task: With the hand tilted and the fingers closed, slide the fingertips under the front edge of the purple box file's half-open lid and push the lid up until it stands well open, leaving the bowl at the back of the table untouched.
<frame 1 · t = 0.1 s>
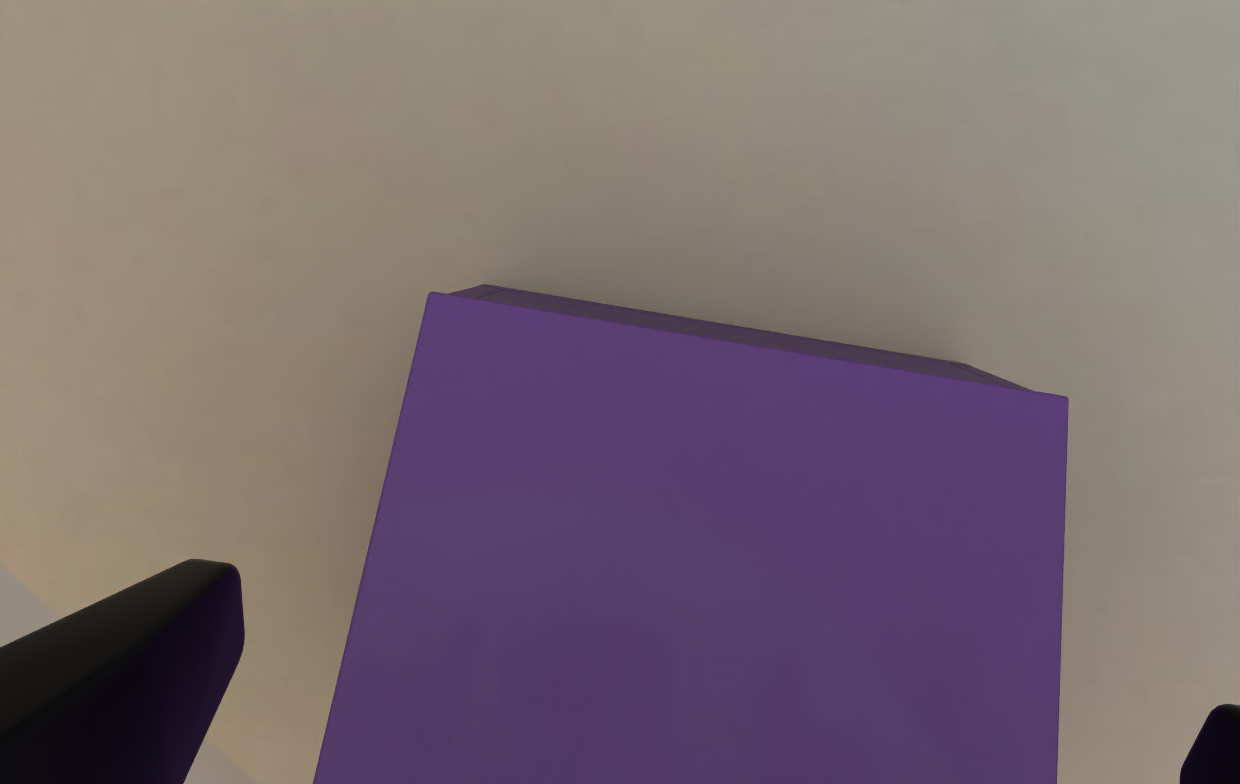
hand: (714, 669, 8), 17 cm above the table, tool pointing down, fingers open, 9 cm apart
box file: (688, 521, 25), on the table
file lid: (705, 645, 17), point 8 cm above the table, hinge at 25.0°
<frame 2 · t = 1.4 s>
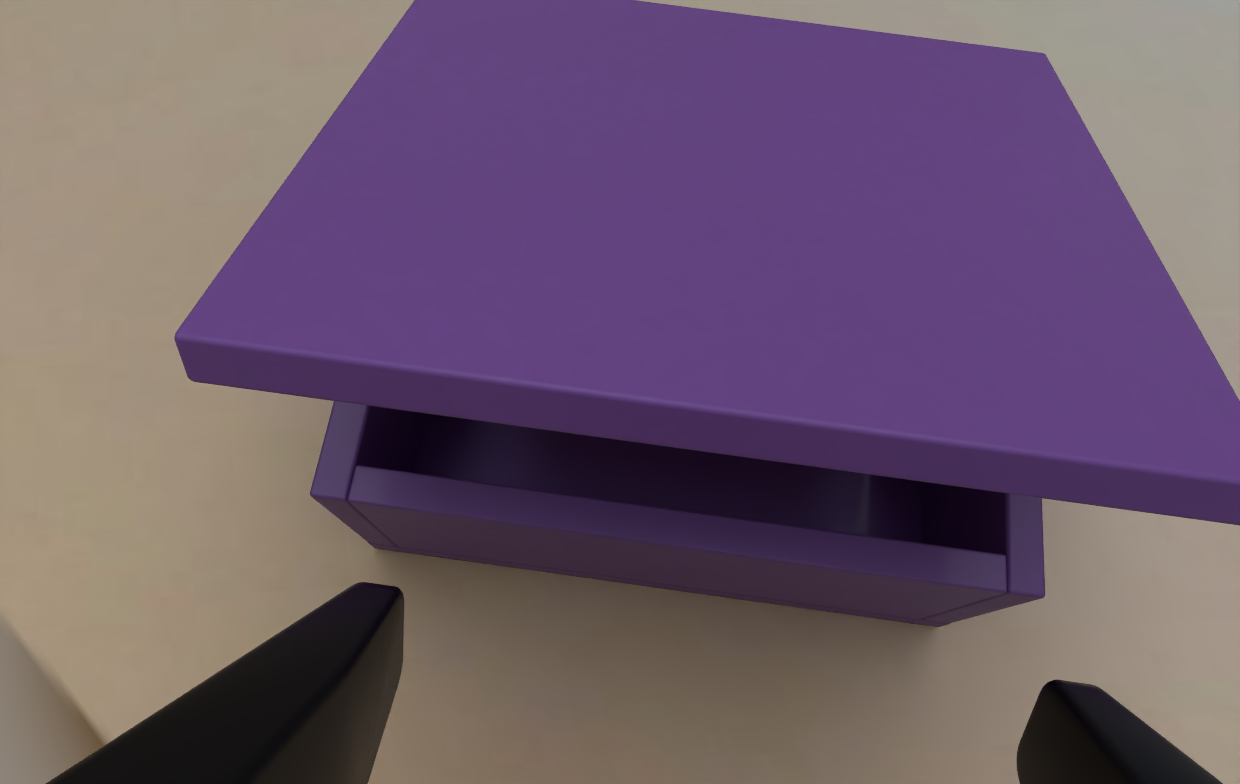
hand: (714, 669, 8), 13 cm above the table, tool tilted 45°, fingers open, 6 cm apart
box file: (681, 364, 23), on the table
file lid: (729, 174, 15), point 8 cm above the table, hinge at 25.0°
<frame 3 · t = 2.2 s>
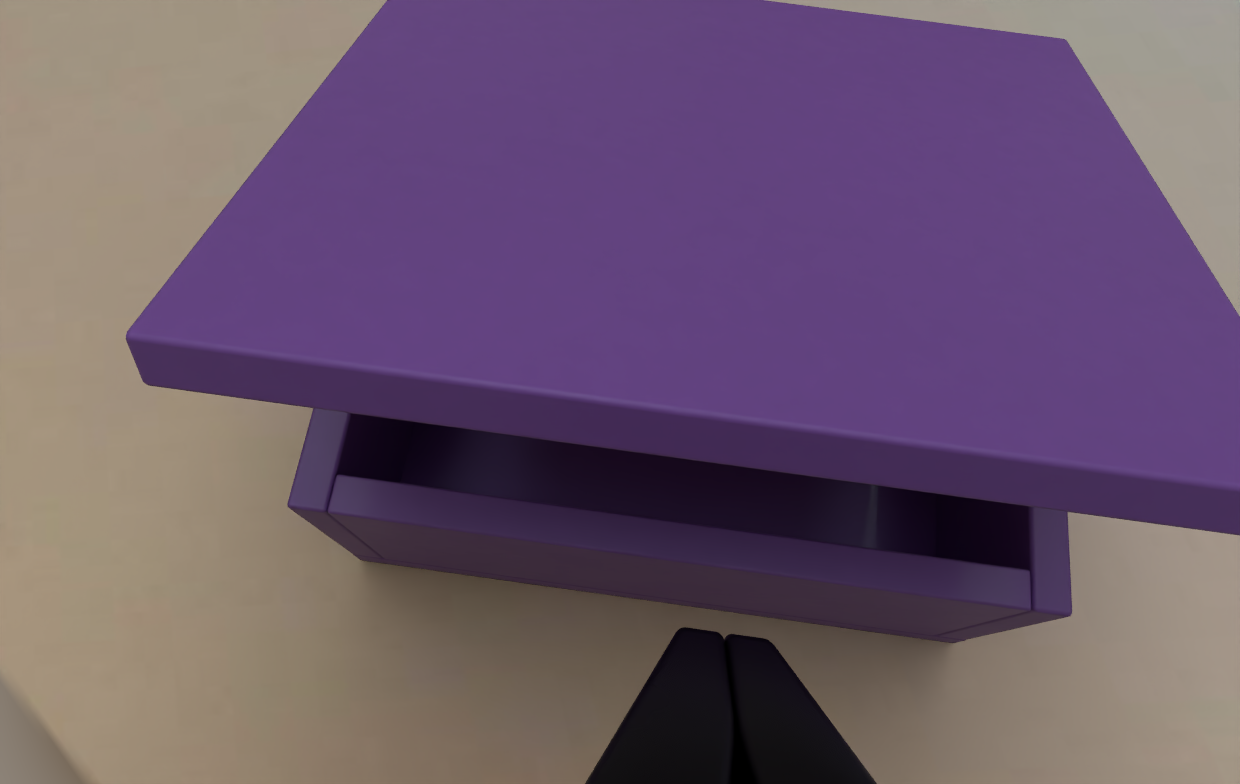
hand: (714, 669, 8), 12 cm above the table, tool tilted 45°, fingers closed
box file: (682, 367, 22), on the table
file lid: (734, 163, 14), point 8 cm above the table, hinge at 25.0°
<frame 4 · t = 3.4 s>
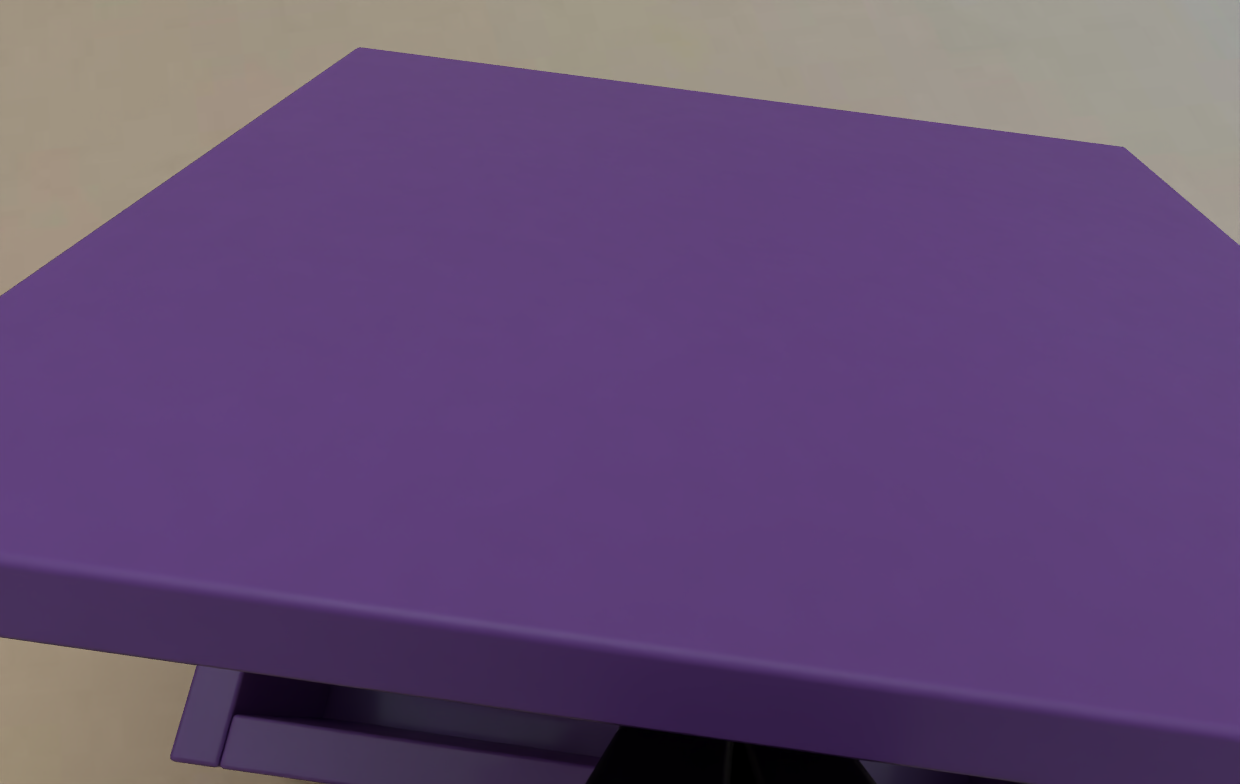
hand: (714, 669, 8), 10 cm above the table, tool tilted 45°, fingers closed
box file: (670, 508, 19), on the table
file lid: (744, 272, 10), point 9 cm above the table, hinge at 35.0°
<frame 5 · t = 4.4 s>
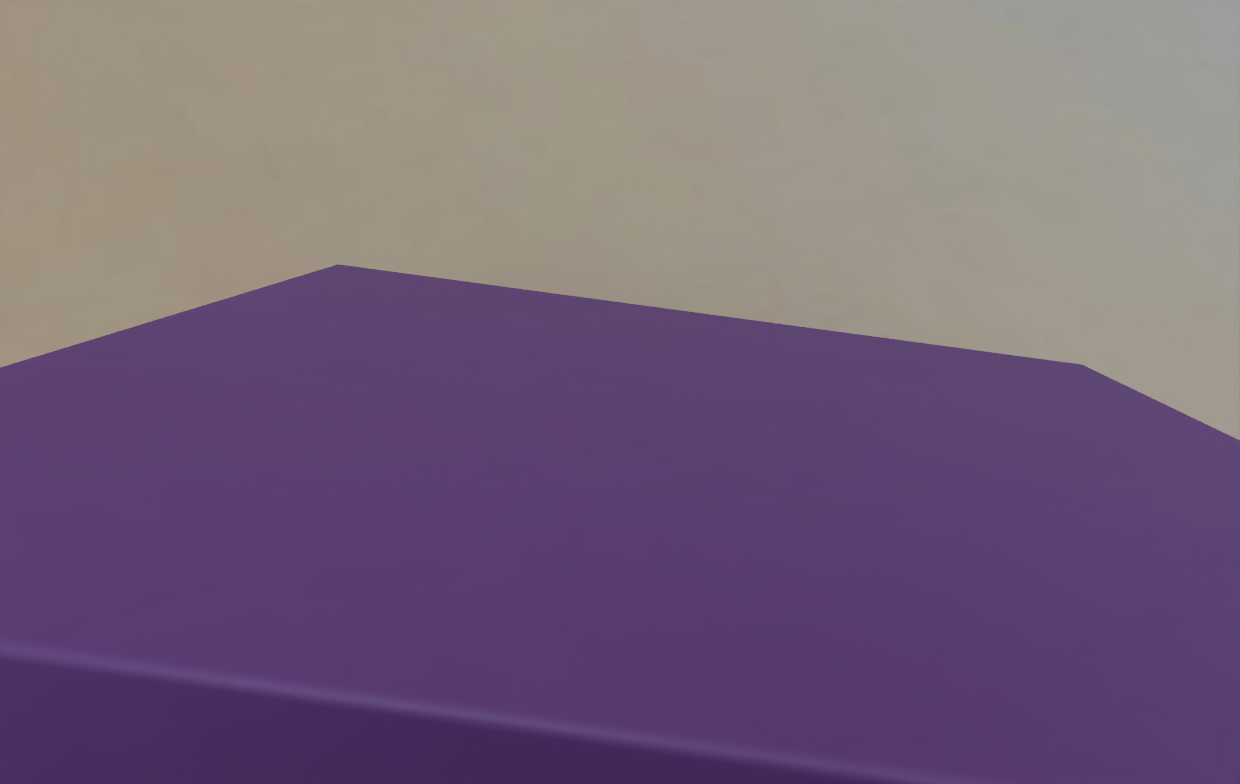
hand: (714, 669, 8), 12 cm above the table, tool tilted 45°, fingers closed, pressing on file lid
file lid: (726, 437, 10), point 11 cm above the table, hinge at 54.6°, touching gripper
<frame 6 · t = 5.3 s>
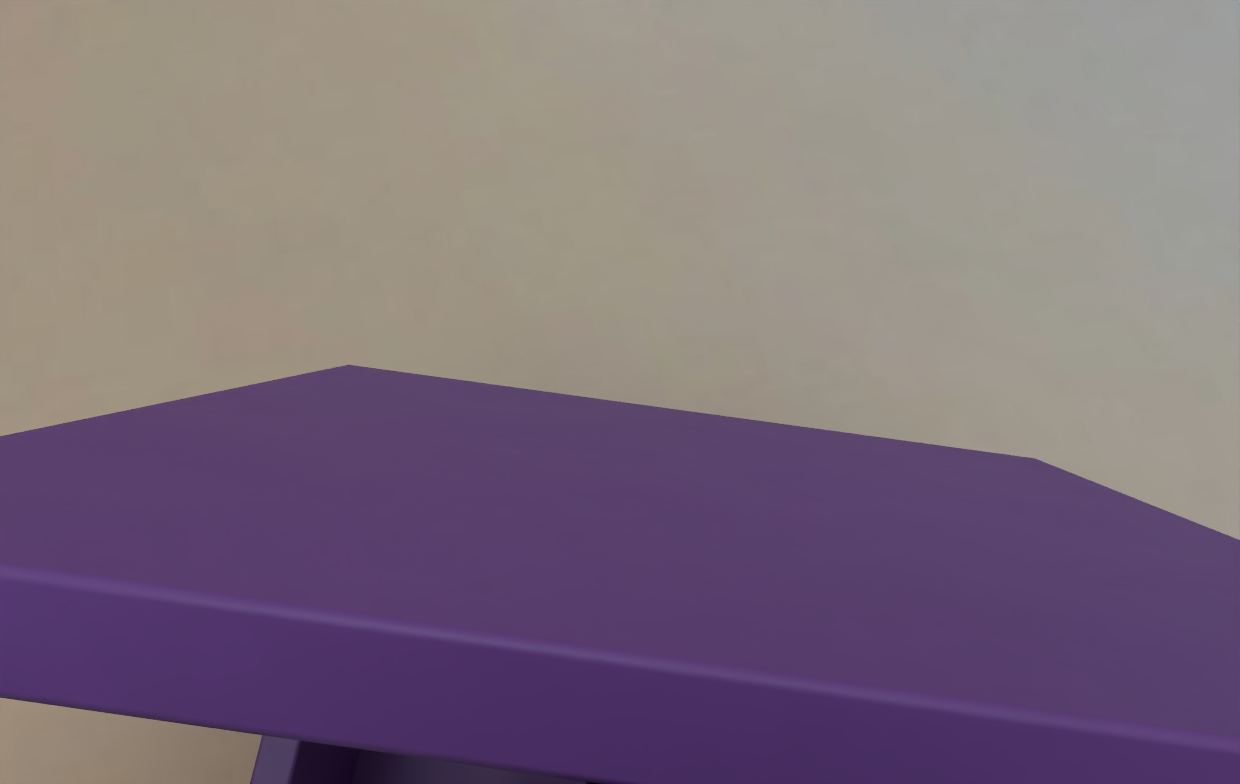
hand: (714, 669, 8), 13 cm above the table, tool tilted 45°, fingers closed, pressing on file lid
box file: (634, 740, 20), on the table
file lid: (708, 502, 11), point 11 cm above the table, hinge at 63.6°, touching gripper
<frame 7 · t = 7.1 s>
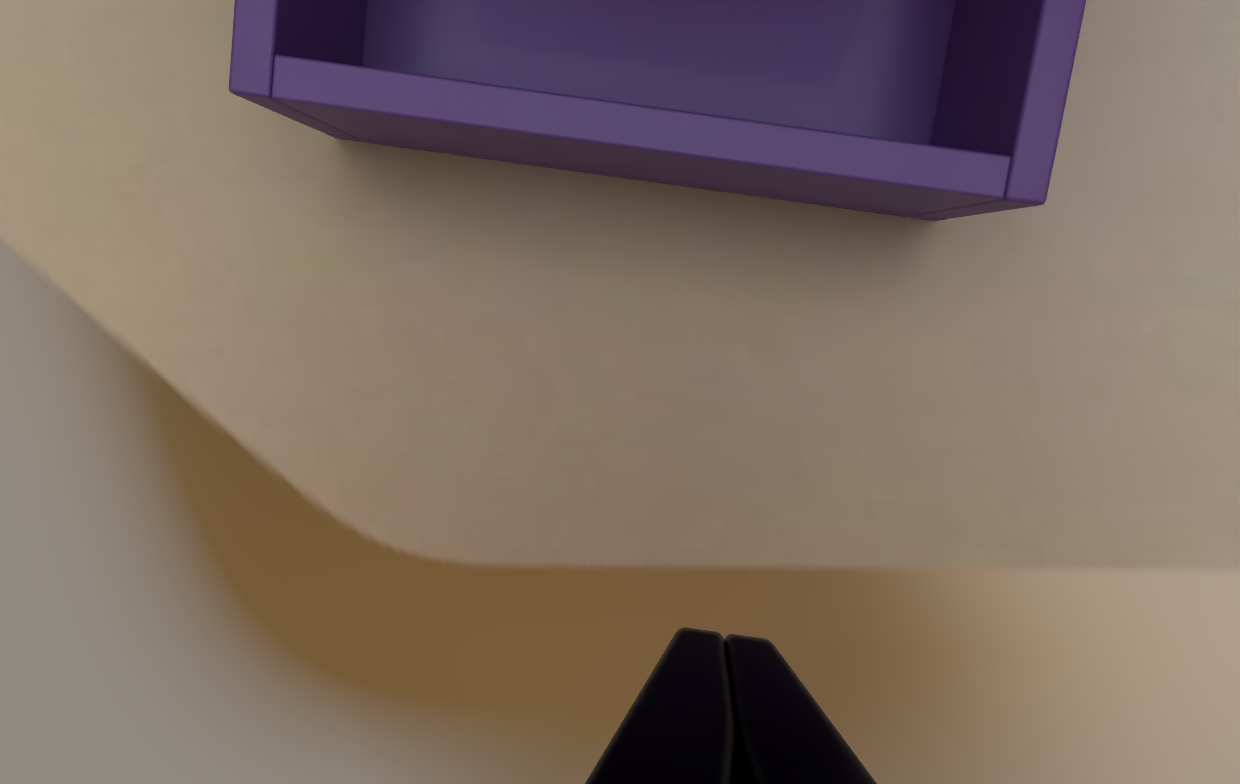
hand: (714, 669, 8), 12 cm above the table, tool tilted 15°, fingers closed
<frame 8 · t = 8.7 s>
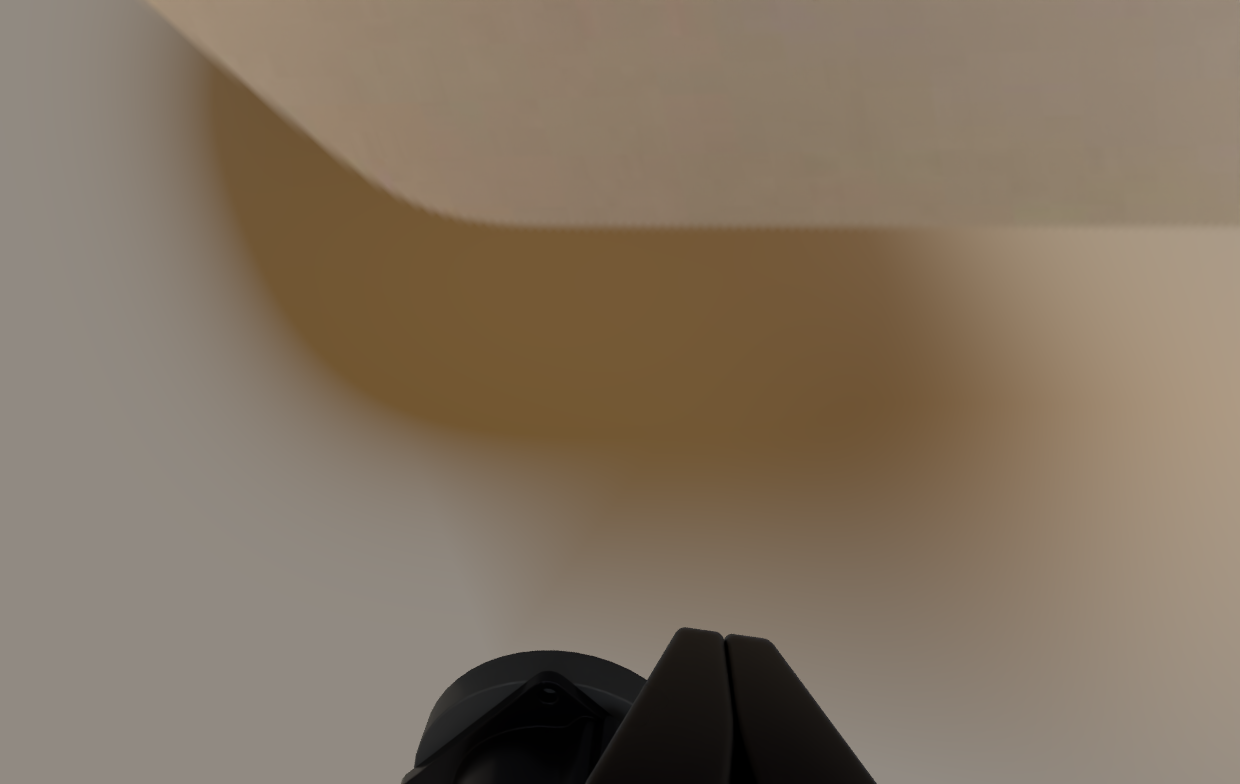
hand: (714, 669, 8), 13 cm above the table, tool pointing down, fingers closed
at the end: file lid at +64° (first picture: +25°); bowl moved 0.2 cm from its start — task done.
